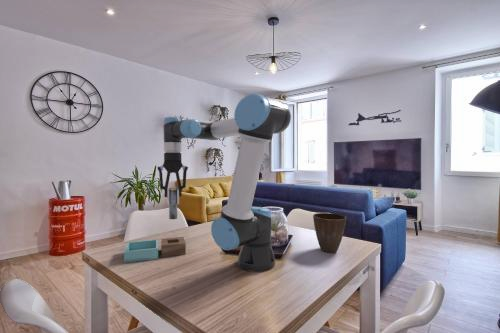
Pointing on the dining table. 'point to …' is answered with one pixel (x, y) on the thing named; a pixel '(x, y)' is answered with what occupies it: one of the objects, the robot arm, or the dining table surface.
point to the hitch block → (173, 246)
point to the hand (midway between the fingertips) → (173, 203)
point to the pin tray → (141, 251)
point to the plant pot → (329, 230)
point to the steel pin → (173, 203)
